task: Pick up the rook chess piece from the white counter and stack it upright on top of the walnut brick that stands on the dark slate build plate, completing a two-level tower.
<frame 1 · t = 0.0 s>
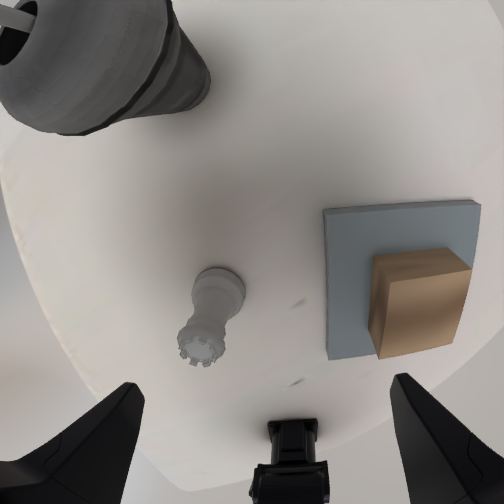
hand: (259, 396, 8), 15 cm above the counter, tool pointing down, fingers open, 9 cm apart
base brick: (408, 289, 21), point 1 cm above the counter, touching build plate
rook chess piece: (220, 287, 24), on the counter
build plate: (402, 280, 22), on the counter
beverage cup: (181, 83, 18), on the counter
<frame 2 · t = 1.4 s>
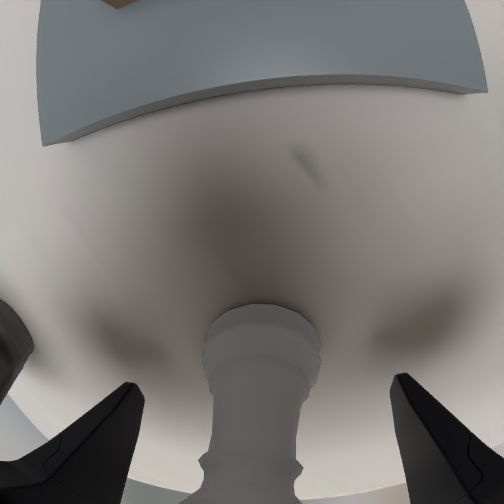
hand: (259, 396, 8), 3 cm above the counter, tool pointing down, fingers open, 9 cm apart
rook chess piece: (263, 339, 11), on the counter
beverage cup: (13, 325, 13), on the counter
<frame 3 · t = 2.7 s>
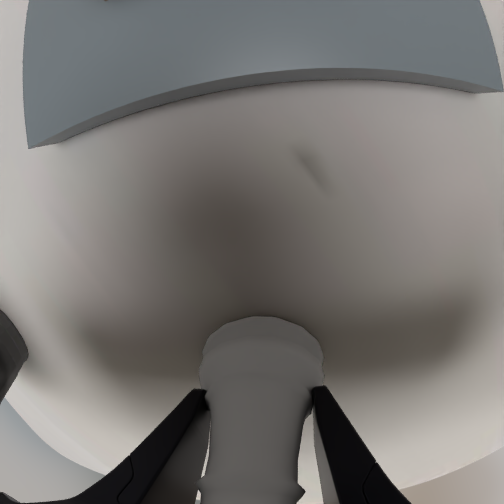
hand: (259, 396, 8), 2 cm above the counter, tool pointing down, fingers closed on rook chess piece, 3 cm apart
rook chess piece: (263, 351, 10), on the counter, touching gripper
beverage cup: (7, 331, 13), on the counter
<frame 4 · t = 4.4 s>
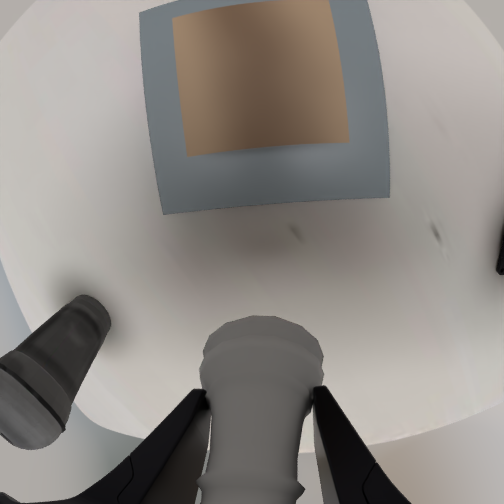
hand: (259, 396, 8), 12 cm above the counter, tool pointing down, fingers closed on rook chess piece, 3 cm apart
base brick: (262, 84, 13), point 1 cm above the counter, touching build plate
rook chess piece: (263, 350, 10), point 10 cm above the counter, touching gripper
build plate: (264, 88, 15), on the counter
beverage cup: (92, 313, 24), on the counter
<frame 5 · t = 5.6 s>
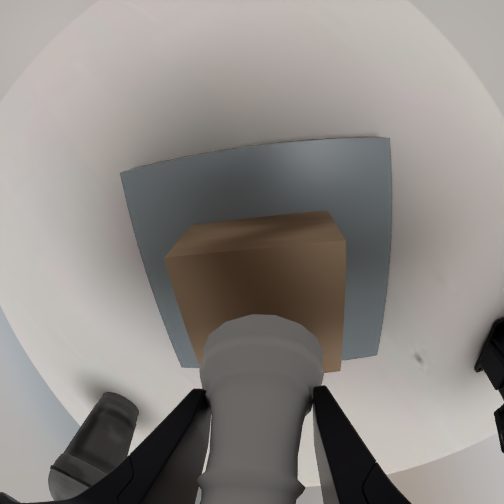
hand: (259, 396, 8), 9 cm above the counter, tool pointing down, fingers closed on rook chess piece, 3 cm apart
base brick: (266, 278, 15), point 1 cm above the counter, touching build plate
rook chess piece: (263, 349, 10), point 7 cm above the counter, touching gripper
build plate: (267, 266, 17), on the counter
beverage cup: (121, 403, 26), on the counter
when the fingers open (8 cm above the counter, at t = 6.4 s): rook chess piece stays where it is, resting on base brick.
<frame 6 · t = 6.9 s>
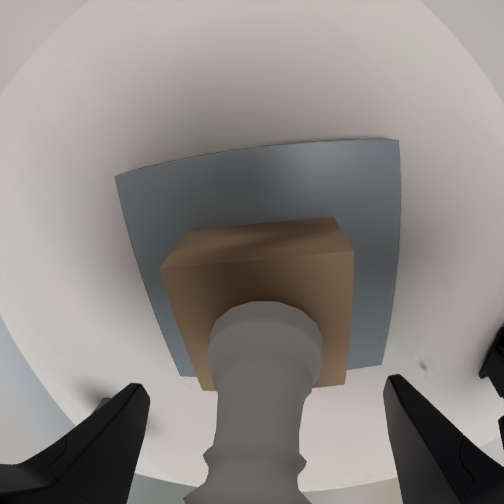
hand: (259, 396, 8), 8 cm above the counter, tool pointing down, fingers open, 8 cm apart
base brick: (268, 287, 15), point 1 cm above the counter, touching build plate, rook chess piece
rook chess piece: (266, 336, 11), point 5 cm above the counter, touching base brick
build plate: (269, 273, 16), on the counter
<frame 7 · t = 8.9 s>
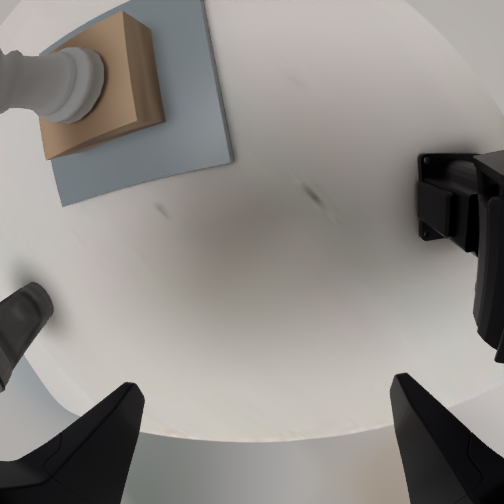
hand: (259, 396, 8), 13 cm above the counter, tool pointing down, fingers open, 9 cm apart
base brick: (111, 90, 15), point 1 cm above the counter, touching build plate, rook chess piece
rook chess piece: (79, 86, 11), point 5 cm above the counter, touching base brick
build plate: (122, 92, 16), on the counter
beverage cup: (40, 298, 25), on the counter
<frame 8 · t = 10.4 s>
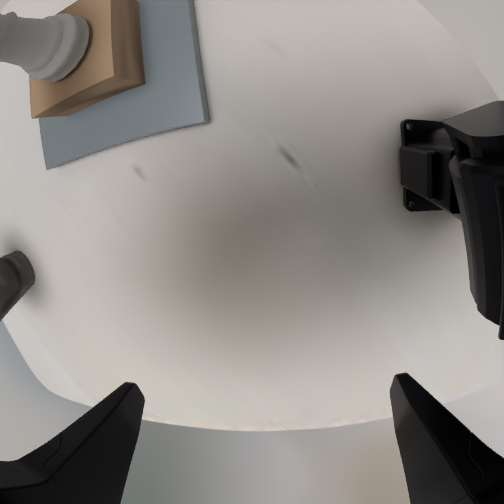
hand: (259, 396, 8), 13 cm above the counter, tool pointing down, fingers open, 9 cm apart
base brick: (99, 57, 14), point 1 cm above the counter, touching build plate, rook chess piece
rook chess piece: (67, 49, 10), point 5 cm above the counter, touching base brick
build plate: (109, 61, 15), on the counter
beverage cup: (23, 268, 24), on the counter
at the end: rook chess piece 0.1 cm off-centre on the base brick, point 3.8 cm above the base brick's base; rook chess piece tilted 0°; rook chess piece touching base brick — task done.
